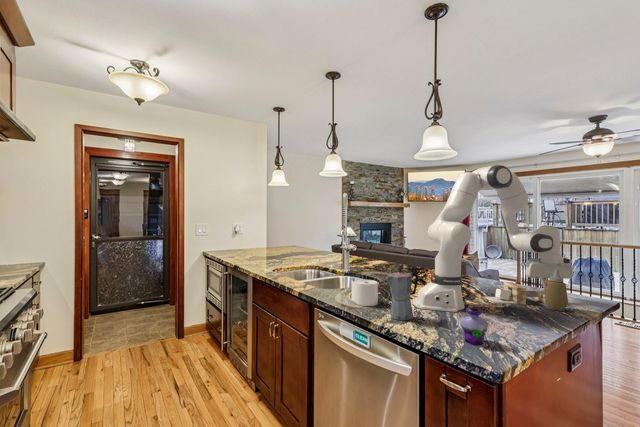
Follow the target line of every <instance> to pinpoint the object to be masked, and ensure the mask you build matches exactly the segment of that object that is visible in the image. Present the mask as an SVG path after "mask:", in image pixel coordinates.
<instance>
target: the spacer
mask: <svg viewBox="0 0 640 427" xmlns="http://www.w3.org/2000/svg"><path fill="white" fill-rule="evenodd" d="M509 293H510V292H509V291H505V290H504V289H502V288H501V289H500V288H496V290H495V294H494V297H499V298H502V299H506V300H508V298H509Z"/></svg>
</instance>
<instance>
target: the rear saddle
mask: <svg viewBox="0 0 640 427" xmlns="http://www.w3.org/2000/svg"><path fill="white" fill-rule="evenodd" d="M545 298H546V294H543V297H534V300H535V301H537V302H539V303H542V304H545V305H547V303H546V300H545Z"/></svg>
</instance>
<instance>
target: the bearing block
mask: <svg viewBox="0 0 640 427" xmlns="http://www.w3.org/2000/svg"><path fill="white" fill-rule="evenodd" d="M508 289H512V297H511V296H509V298H508V299H509V300H511V301H513V302H515V303H516V304H515V305H523V306H525V305H527V297H526V289H527V287H526V286H523V285H521V284H517V283H515V282H512V281H503V290H505V291H508Z"/></svg>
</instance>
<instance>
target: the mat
mask: <svg viewBox="0 0 640 427" xmlns="http://www.w3.org/2000/svg"><path fill="white" fill-rule="evenodd" d="M484 297H485V298H484V299H486V300H488V301H490V302H491V303H493V304H509V305H510V304H514V305H517V304H516V303H515V302H513V301H511V300H509V299H508V300H506V299H502V298H499V297H495V296H484Z"/></svg>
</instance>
